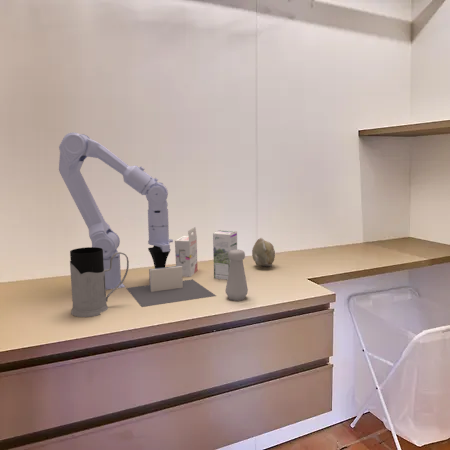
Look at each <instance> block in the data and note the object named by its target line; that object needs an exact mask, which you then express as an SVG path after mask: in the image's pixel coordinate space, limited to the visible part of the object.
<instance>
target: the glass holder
mask: <svg viewBox="0 0 450 450" xmlns="http://www.w3.org/2000/svg"><path fill="white" fill-rule="evenodd" d="M117 254H120V255H122V256H125V258H126V269H125V273H124V275H123V278H121V282H120V283H119V284H118V285H117V286H116V287H115V288H114V289H111V291H110V292H108V294H107V290H106V286H105V271H109V270H111V268H112V260H113V258H114V256H115V255H117ZM69 257H70V260H69V267H70V280H71V281H70V282H71V283H70V284H71V300H72V309H71V311H70V313H71V315H72V316H74V317H78V318H90V317H91V318H93V317H97V316H100V315H101V314H102V313H104V312H106V311H108V309H109V306H108V304H107V303H108V299H109V297H110V296H111V295H112V294H113V293H114V292H115V291H116V290H117V289H119V288H118V287H119V286H120V285H121V284H122V283H123V284H124V281H125V280H126V278H127V275H128V272H129V266H130V265H129V262H130V261H129V257H128V256H127V254H125V252H121V251H120V252H119V251H118V252H117V253H115V254H114V255H113V256H112V257H111V260H110V268H109V269H107V270H104V262H103V249H102V248H97V247H92V246H90V247H89V246H88V247H87V246H86V247H79V248H73V249H72V250H69Z"/></svg>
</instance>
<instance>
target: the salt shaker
mask: <svg viewBox="0 0 450 450" xmlns="http://www.w3.org/2000/svg"><path fill="white" fill-rule="evenodd" d="M228 258H229V260H231V261H230V267H229V273H228V279H227V280H226V286H225V289H224V290H225V294H226V296H227V298H228V299H229V300H230V301H235V302H236V301H238V302H239V301H243V300H245V298H246V297H247V294H248V291H249V287H248V284H247V282H248V281H247V278H246V272H245V267H244V261H243V260H245V258H246V253H245V251H244V250H242V249H237V250H231V251H229V253H228Z"/></svg>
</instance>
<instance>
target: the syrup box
mask: <svg viewBox="0 0 450 450" xmlns="http://www.w3.org/2000/svg"><path fill="white" fill-rule="evenodd" d="M212 239H213V240H212V246H213V248H212V250H213V251H212V252H213V253H212V254H213V279H214V280H224V281H227V279H228V273H229V267H230V261H231V260H229V258H228V253H229V251H231V250H238V231H236V230H221V229H220V230H217V231H215V232H213V233H212Z"/></svg>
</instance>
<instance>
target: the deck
mask: <svg viewBox="0 0 450 450" xmlns="http://www.w3.org/2000/svg"><path fill="white" fill-rule="evenodd" d="M148 273H149V274H148V276H149V277H148V278H149V285H150V291H151V292H154V291H161V290H169V289H176V288H183V281H184V280H183V276H182V266H176V265H175V266H174V265H172V266H165V267H164V268H155V267H154V268H149V269H148Z"/></svg>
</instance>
